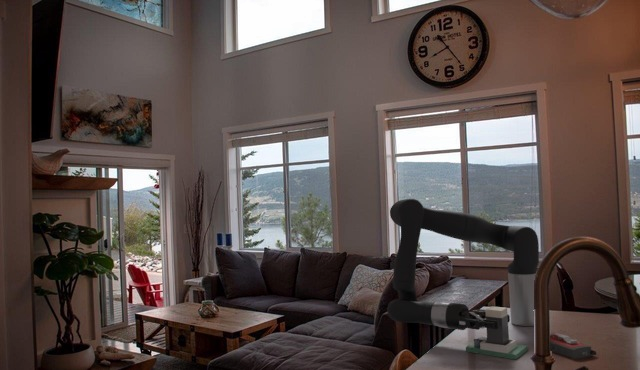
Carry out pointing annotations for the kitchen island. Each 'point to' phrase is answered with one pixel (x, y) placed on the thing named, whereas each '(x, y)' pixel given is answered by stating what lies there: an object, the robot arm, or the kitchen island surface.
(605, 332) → the kitchen island surface
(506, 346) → the controller board
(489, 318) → the grey and cream block
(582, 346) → the walkie-talkie
